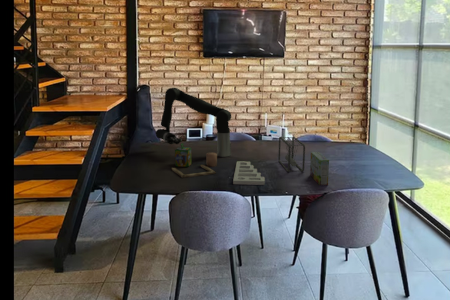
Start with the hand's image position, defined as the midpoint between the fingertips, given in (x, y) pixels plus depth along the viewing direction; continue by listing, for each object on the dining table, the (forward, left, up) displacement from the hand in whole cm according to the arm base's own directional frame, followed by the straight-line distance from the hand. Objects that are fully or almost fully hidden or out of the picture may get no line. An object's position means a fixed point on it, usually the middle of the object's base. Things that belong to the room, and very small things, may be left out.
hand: (177, 142), depth 305 cm
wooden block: (-17, +21, -13) cm, 29 cm away
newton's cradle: (-63, +45, -13) cm, 79 cm away
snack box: (-61, +79, -13) cm, 100 cm away
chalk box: (0, +13, -13) cm, 18 cm away
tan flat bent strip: (0, +31, -13) cm, 33 cm away
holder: (-30, +50, -14) cm, 59 cm away
